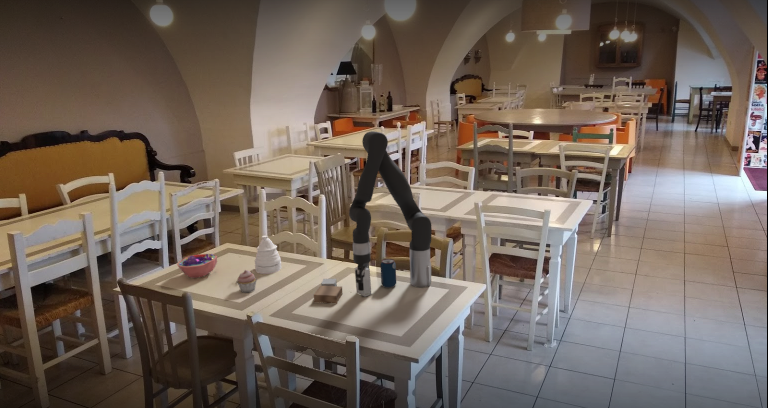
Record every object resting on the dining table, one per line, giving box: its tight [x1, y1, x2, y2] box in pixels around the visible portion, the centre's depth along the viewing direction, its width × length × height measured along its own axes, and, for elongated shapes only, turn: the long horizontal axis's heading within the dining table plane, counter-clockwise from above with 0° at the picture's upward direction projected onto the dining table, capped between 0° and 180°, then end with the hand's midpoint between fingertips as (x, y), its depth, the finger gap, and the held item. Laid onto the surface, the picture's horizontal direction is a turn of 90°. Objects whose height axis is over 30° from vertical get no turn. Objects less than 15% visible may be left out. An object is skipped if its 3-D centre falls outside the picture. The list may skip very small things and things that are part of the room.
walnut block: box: [313, 285, 343, 305], centre depth 243 cm, size 10×10×4 cm
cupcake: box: [236, 269, 258, 294], centre depth 254 cm, size 9×9×10 cm
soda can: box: [380, 258, 397, 289], centre depth 254 cm, size 7×7×12 cm
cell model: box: [176, 253, 218, 279], centre depth 275 cm, size 17×20×11 cm
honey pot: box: [254, 235, 282, 275], centre depth 279 cm, size 13×13×18 cm
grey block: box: [320, 278, 338, 286], centre depth 253 cm, size 6×6×4 cm
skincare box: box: [354, 266, 372, 298], centre depth 246 cm, size 6×4×12 cm
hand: (363, 286), depth 246 cm, fingers closed on skincare box, 7 cm apart
